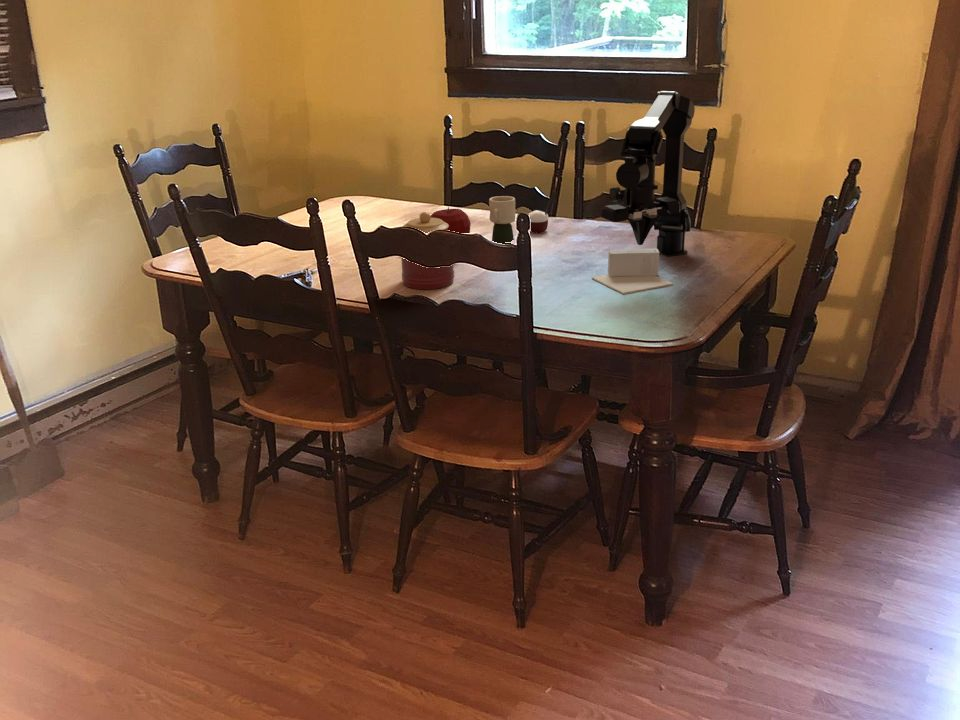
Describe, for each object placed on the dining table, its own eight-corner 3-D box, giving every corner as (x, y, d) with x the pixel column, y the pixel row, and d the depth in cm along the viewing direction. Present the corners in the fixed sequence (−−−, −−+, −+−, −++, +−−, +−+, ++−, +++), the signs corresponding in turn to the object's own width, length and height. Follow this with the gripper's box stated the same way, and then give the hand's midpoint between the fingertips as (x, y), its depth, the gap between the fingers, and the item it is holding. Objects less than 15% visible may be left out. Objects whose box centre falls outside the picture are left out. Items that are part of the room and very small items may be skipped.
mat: (639, 270, 235) (639, 268, 235) (672, 284, 223) (672, 283, 223) (591, 278, 230) (591, 277, 230) (623, 294, 218) (623, 292, 218)
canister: (465, 281, 231) (462, 211, 224) (426, 294, 223) (422, 221, 216) (430, 271, 240) (426, 203, 233) (391, 283, 231) (386, 213, 225)
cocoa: (520, 234, 272) (517, 193, 267) (529, 228, 277) (526, 188, 272) (550, 236, 268) (547, 194, 263) (559, 230, 273) (556, 189, 268)
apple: (454, 246, 260) (452, 199, 255) (480, 255, 252) (479, 206, 247) (419, 255, 253) (416, 207, 248) (444, 264, 245) (442, 214, 240)
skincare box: (657, 247, 231) (608, 247, 231) (660, 252, 226) (610, 252, 227) (655, 271, 233) (607, 271, 233) (658, 277, 229) (609, 277, 229)
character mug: (498, 238, 267) (497, 193, 262) (522, 240, 264) (521, 195, 259) (483, 248, 257) (482, 202, 252) (507, 251, 255) (506, 204, 250)
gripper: (655, 169, 228) (653, 231, 234) (589, 178, 221) (588, 242, 227) (683, 177, 219) (679, 242, 225) (615, 186, 212) (613, 253, 218)
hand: (640, 244), depth 224 cm, fingers closed
